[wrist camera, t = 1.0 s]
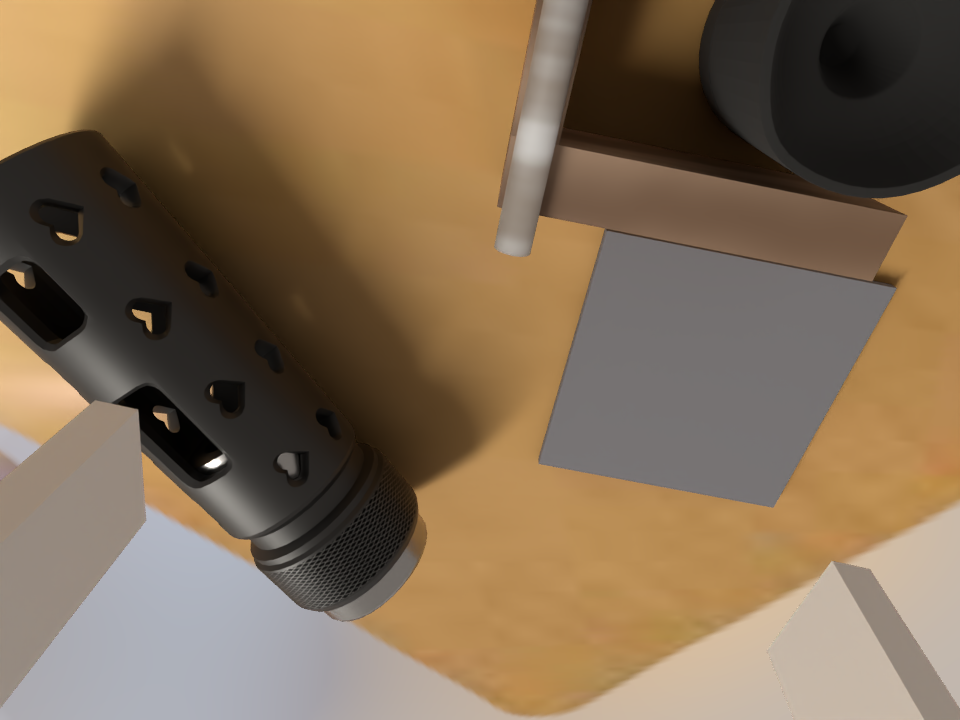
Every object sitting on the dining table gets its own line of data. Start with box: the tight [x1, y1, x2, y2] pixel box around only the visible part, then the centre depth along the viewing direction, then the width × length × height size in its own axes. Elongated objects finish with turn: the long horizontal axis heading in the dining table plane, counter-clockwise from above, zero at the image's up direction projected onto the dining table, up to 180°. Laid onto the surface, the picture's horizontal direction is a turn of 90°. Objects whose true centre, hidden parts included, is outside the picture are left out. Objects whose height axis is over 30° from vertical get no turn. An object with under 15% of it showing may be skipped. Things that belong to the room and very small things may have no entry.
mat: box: [539, 228, 897, 507], centre depth 36 cm, size 16×16×1 cm
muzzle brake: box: [0, 130, 427, 621], centre depth 33 cm, size 10×28×10 cm, turn 33°
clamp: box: [494, 0, 907, 281], centre depth 24 cm, size 20×17×8 cm
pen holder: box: [699, 0, 960, 198], centre depth 23 cm, size 9×9×10 cm
